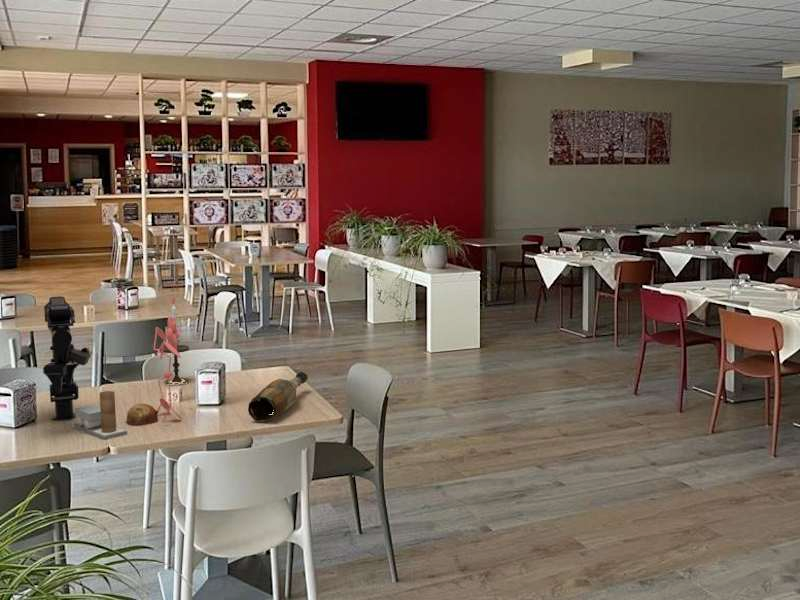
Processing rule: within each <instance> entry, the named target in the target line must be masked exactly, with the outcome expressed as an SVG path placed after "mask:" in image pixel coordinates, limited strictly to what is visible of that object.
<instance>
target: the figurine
mask: <svg viewBox="0 0 800 600" xmlns="http://www.w3.org/2000/svg"><path fill="white" fill-rule="evenodd" d="M154 331H155V335H154V340H153V341H154V342H153V343H154V344H153V347H152V348H153V351H156V352H157V353H158V355H159V358H160V360H162V359H163V355H164V356H166V357H167V358H169V363H168V370H167V371H165V372H164V374H163V376H164V377H162V378H160V379H158V381H157V382H158V387H159V391H160V395H161V397H160V398H159V406H158V408H157V410H156V411H158V413H157V415H158V414H159V412H160V409H161V407H162V408H164V409H165V410H166V412H165V414H164V417H163V420H162V422H163V423H164V422H165V420H166V418H167V415H168V414H169V412H170V411H171V410H172V411H173V413H175V415H176V416H177V417H178V418H179V419H180V420H181V421H183V419H182V417H181V416H180V415H179V414H178V413H177V412H176V410H175V409H174V408H173V407H172V406H173V405H172V399H171V397H172V395H171V386H170V380H171V379H172V377H173V373H172V372H171V366H172V357H171V356H170V355H169V354H168V353H165V352H163V350H164V347H165V346H166V347H167V348H168V349H169V350H170V352H172V353H173V354H172V353H171V354H172V355H174V354H175V355H176V356H177V358H180V359H181V358H182V356H181V354H180V352H179V353H178V352H177V340H178V339H179V338H180V335H181V334H180V331H179V329H178V327H177V328H176V319H175V317H173V319H172V316H171V315H168V316H167V328H166V329H165V331H163V330H162V329H161V328H159V327H158V326H156V327H155V329H154ZM158 336H159V337H160V338H161V339H162V340H163V342H162V343H161V345H160V346H159V348H156V344H157V337H158ZM166 340H168V342H166ZM161 348H162V351H161ZM163 379H166V380H169V385H168V392H169V402H168V401H167V400H166V399H165V398H164V395H163V392H162V391H163V390H162V386H161V382H160V381H162V380H163ZM186 409H189V410H192V411H196V412H197V413H199V414H200V413H201V411H200V410H197V409H194V408H192V407H189V408H187V407H186ZM164 426H166V427H167V426H170V424H166V425H164Z"/></svg>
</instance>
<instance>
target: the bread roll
mask: <svg viewBox="0 0 800 600" xmlns="http://www.w3.org/2000/svg"><path fill="white" fill-rule="evenodd" d="M126 413H127V414H126V421H125V423H126V424H128V425H131V426H145V425H149V424H150V425H151V424H153V423H155V422H157V420H158V414H159V412H158V411H157V410H156V408H154V407H153V406H152V405H150V404H148V403H135V404H134V405H132V406H131V407H130V408H129V409H128V410H127V412H126ZM157 413H158V414H157Z"/></svg>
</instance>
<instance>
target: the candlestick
mask: <svg viewBox="0 0 800 600" xmlns="http://www.w3.org/2000/svg"><path fill="white" fill-rule="evenodd" d="M175 302H176V301H175V296H173V297H172V307H171V308H170V309H171V311H170V312H171V313H170V314H171V315H170V316H171V320H172V319H173V317H175V319H176V328H177V329H178V323H177V307H176V306H175ZM179 343H180V340H178V339H177V352H178V353H179V354H180V353H185V352H188V351H190V346H189V345H186V344H179ZM161 352H162V348H161ZM163 353H165V354H172V355H173V363H171V366H172V367H173V373H174V377H173V378H171V380H172V379H173V380H172V382H181V381H182V380H181V379H184V380H185V382H183V383H186V382H188V383H189V378H188V379H187V378H183V377H180V376H179V372H180V369H179V367H180V363H179V362H178V361H179V359H178V358H179V357H178V356H176V355H175V354H173V353H172V352H170V350H169V349H168V348H167V347H166V345H165V346H164V350H163ZM168 381H169V379H166V380H165V381H164V384H165V383H166V384H169V382H168ZM166 384H165V385H166ZM170 384H172V383H170ZM175 384H178V383H175Z"/></svg>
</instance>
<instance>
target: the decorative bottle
mask: <svg viewBox="0 0 800 600" xmlns="http://www.w3.org/2000/svg"><path fill="white" fill-rule="evenodd" d="M306 382H308V374H307V373H306V372H303V371H299V372H297V373H296V375H295V377H293V378H292V379H290V380H287V379H284V378H280V379H279V378H278V379H276V380H275V379H274V381H271V382H270V383H268V385H266V386H265V387H264V388H263V389H262V390H260V392H259V393H258V394H256V396H255V397H253V398H252V399H251V400H250V401H249V403H248V408H247V411H248V416H250V417H251V418H252V419H253V420H254V421H256V422H258V423H261V424H262V423H263V424H264V423H265V424H266V423H267V422H270V421H271V420H273V418H275V417H276V416H277V417H278V415H280V414H281V413H283V412H284V411H286V410H288V409H289V408H290V407H291V406H292V405H293V404H294V403H295V400H296V397H297V389H298V387H300V386H301V385H303V384H305V383H306ZM273 410H274V411H273ZM272 412H274V413H273V415H269V414H272Z"/></svg>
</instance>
